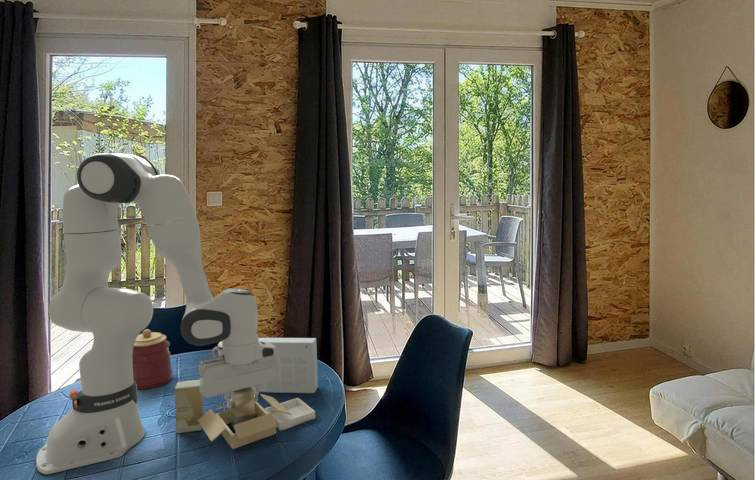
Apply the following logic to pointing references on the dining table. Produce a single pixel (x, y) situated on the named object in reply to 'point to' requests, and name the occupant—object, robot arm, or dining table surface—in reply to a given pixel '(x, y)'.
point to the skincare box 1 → (188, 406)
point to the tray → (292, 413)
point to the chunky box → (243, 405)
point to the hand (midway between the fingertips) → (242, 404)
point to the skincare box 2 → (294, 366)
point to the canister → (151, 360)
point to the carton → (242, 424)
